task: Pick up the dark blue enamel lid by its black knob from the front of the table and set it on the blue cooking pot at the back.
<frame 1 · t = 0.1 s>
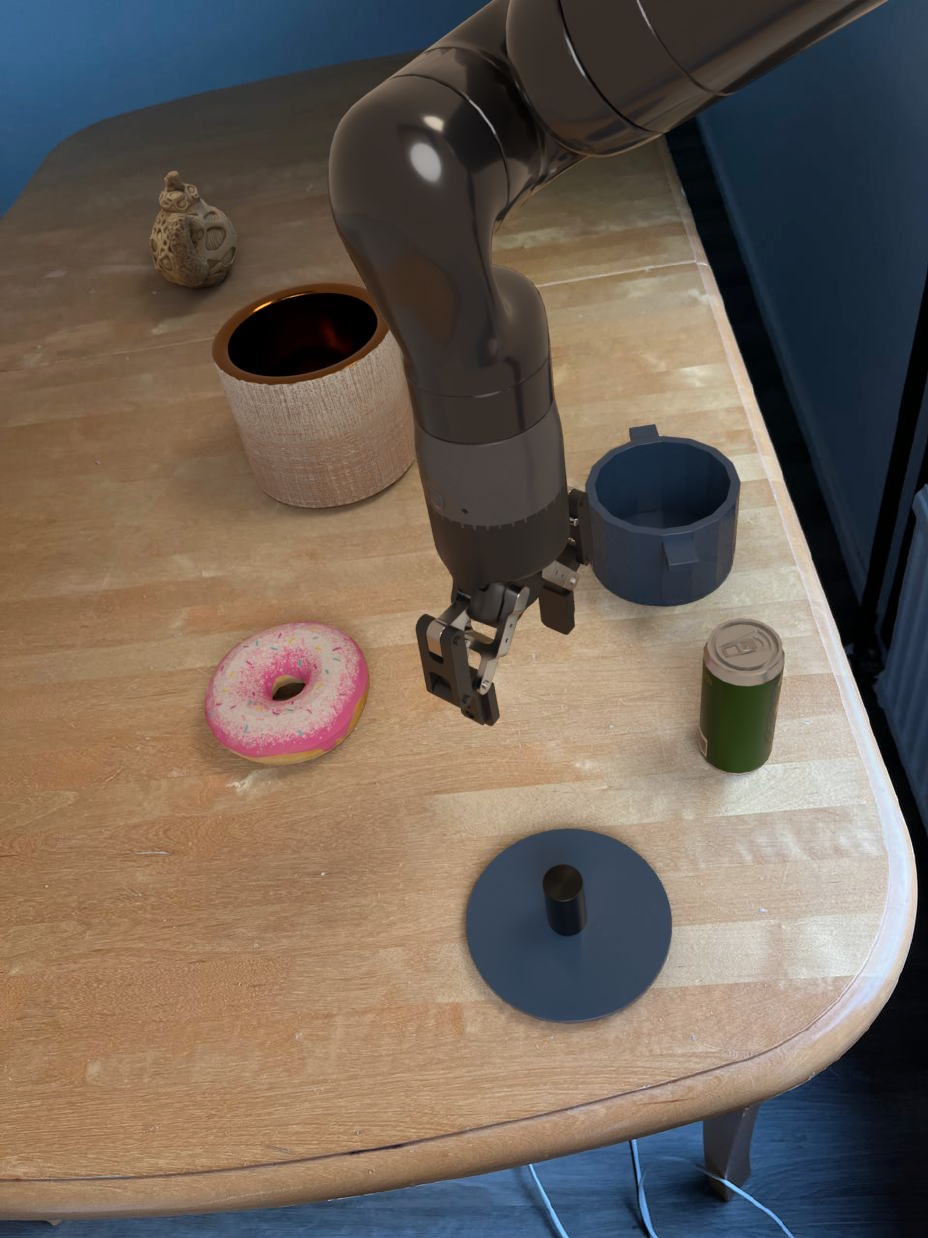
hand: (522, 670, 65), 16 cm above the table, tool pointing down, fingers open, 8 cm apart
lid: (567, 921, 69), point 1 cm above the table
blue cooking pot: (661, 555, 92), on the table
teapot: (206, 284, 138), on the table
beer can: (733, 750, 77), on the table
planter: (338, 461, 108), on the table
donut: (296, 711, 86), on the table
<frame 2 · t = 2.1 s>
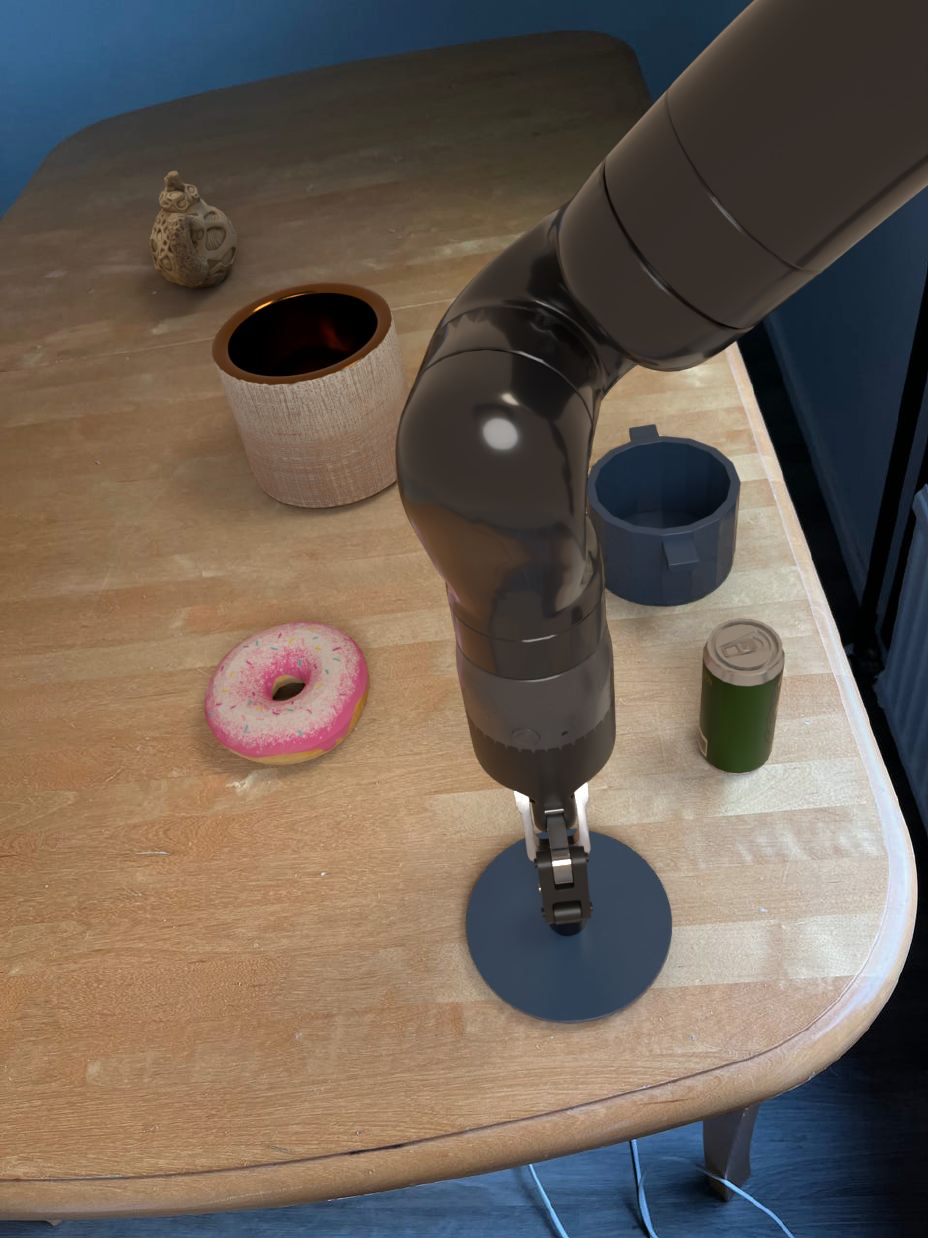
hand: (557, 849, 62), 10 cm above the table, tool pointing down, fingers open, 8 cm apart
nothing on the table moved.
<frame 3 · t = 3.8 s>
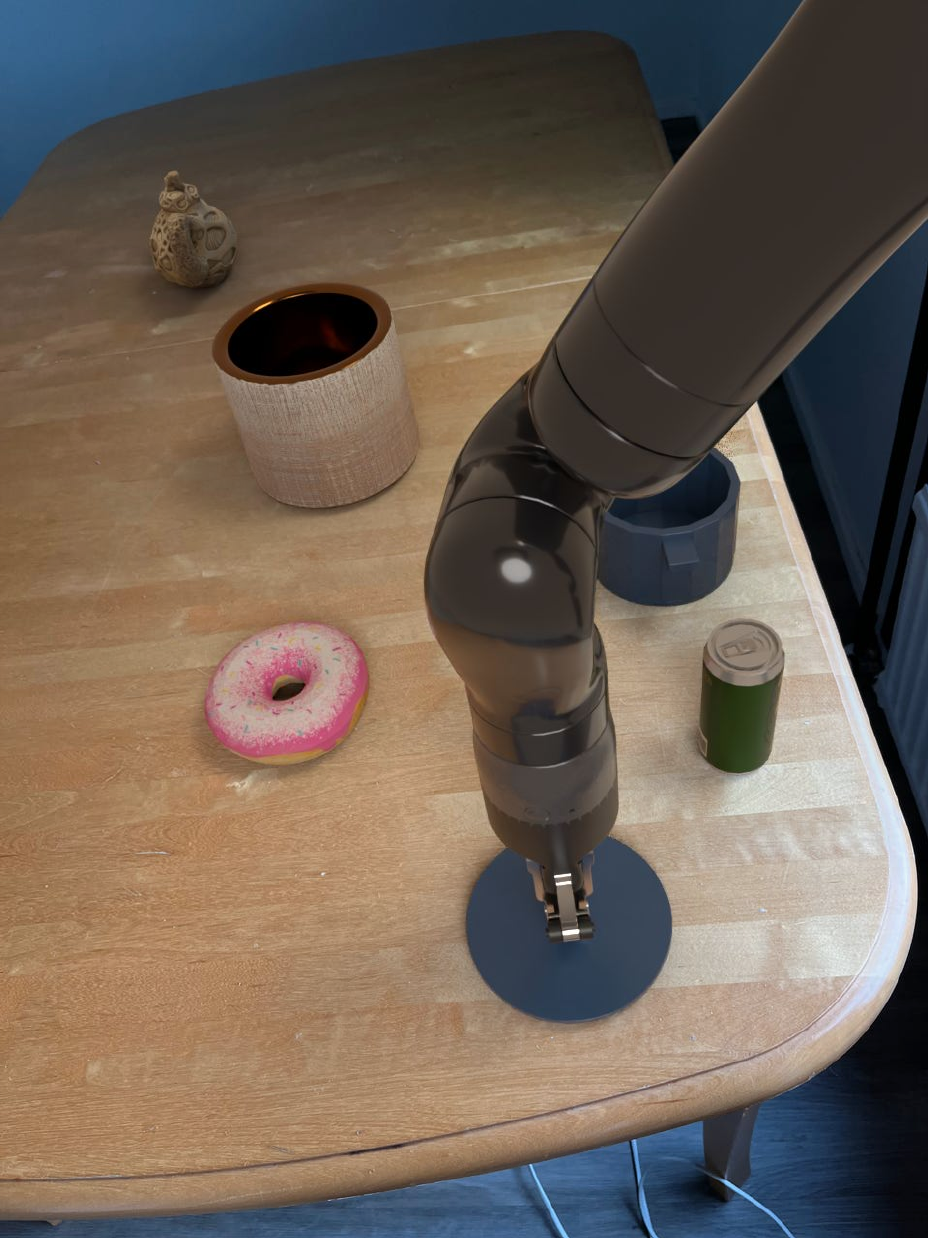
hand: (566, 909, 68), 2 cm above the table, tool pointing down, fingers closed on lid, 2 cm apart
lid: (567, 921, 69), point 1 cm above the table, touching gripper
everything else where it was.
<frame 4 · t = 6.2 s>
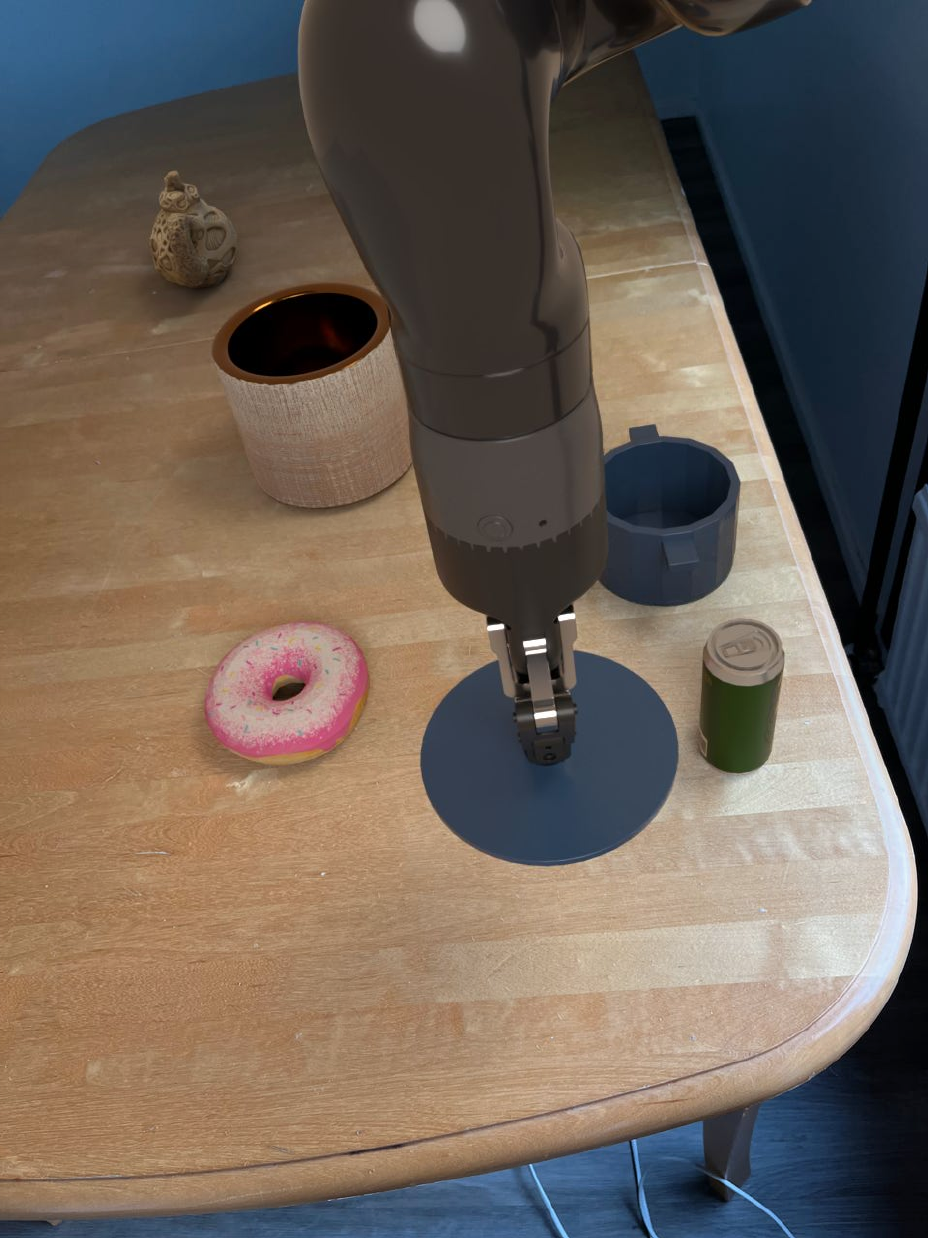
hand: (545, 730, 54), 22 cm above the table, tool pointing down, fingers closed on lid, 2 cm apart
lid: (547, 751, 55), point 20 cm above the table, touching gripper
everything else where it was.
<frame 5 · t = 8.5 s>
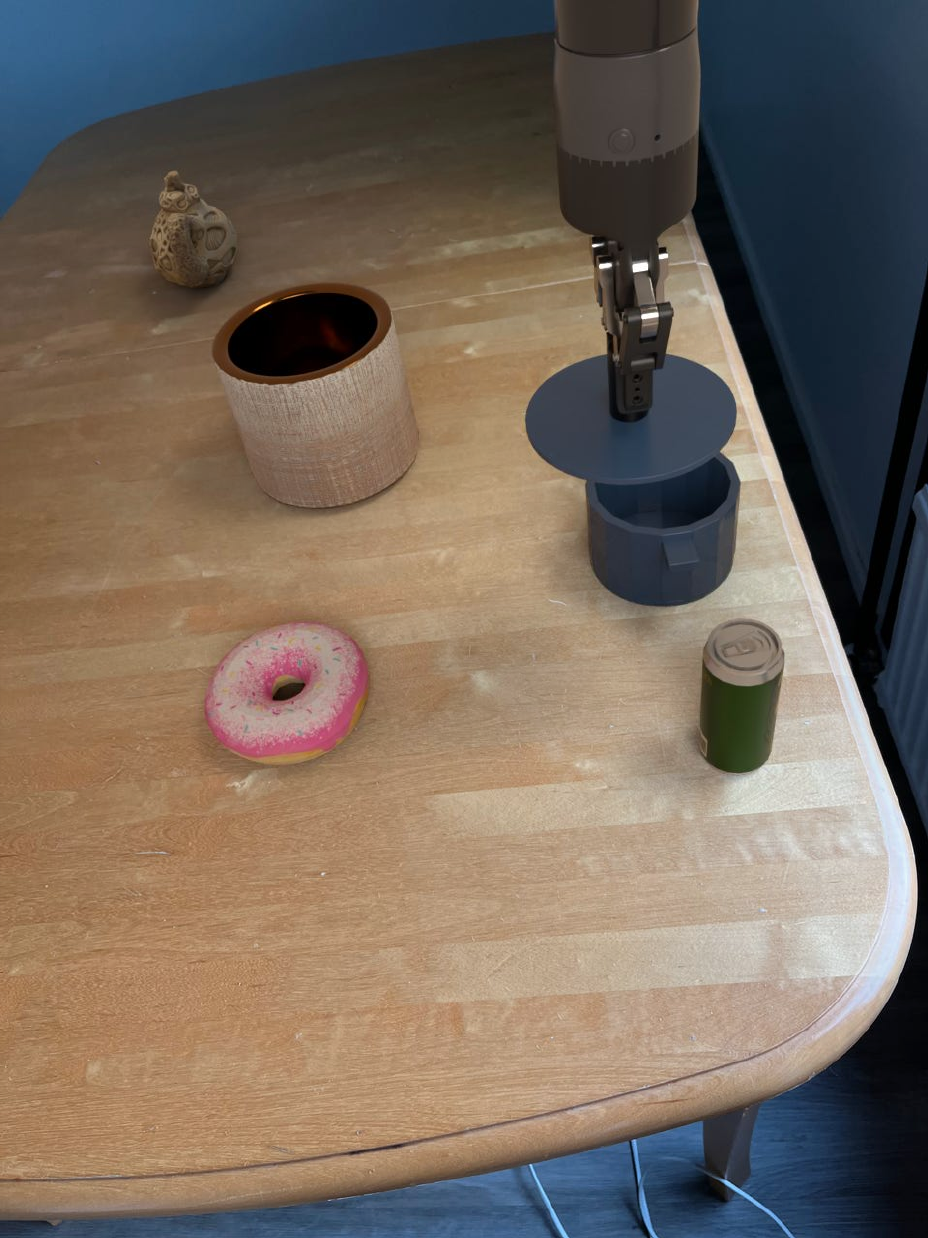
hand: (629, 393, 67), 25 cm above the table, tool pointing down, fingers closed on lid, 2 cm apart
lid: (629, 416, 68), point 24 cm above the table, touching gripper
everything else where it was.
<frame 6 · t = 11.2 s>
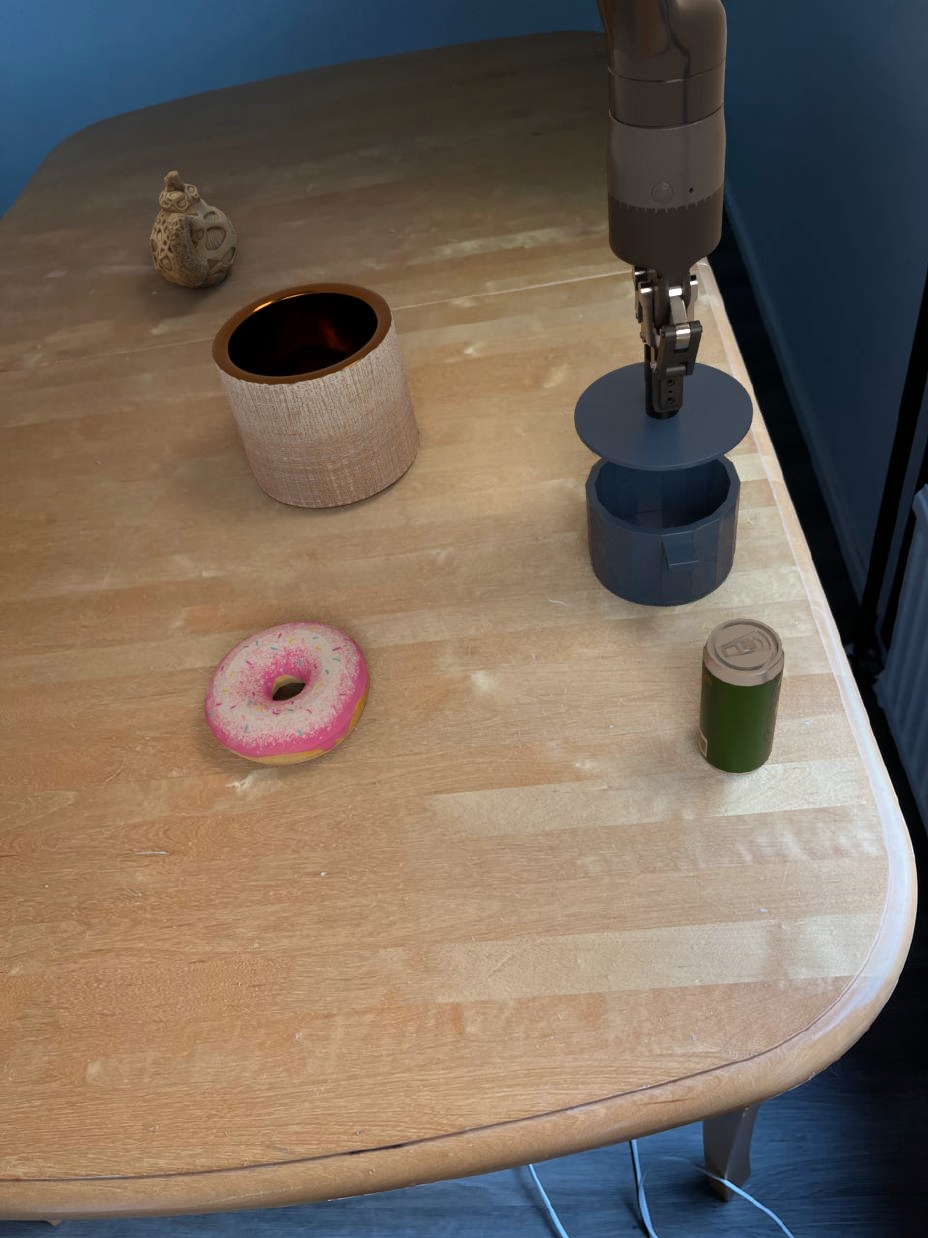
hand: (663, 395, 79), 17 cm above the table, tool pointing down, fingers closed on lid, 2 cm apart
lid: (662, 414, 81), point 16 cm above the table, touching gripper
everything else where it was.
when the fingers open (10 cm above the table, at t = 13.2 s): lid stays where it is, resting on blue cooking pot.
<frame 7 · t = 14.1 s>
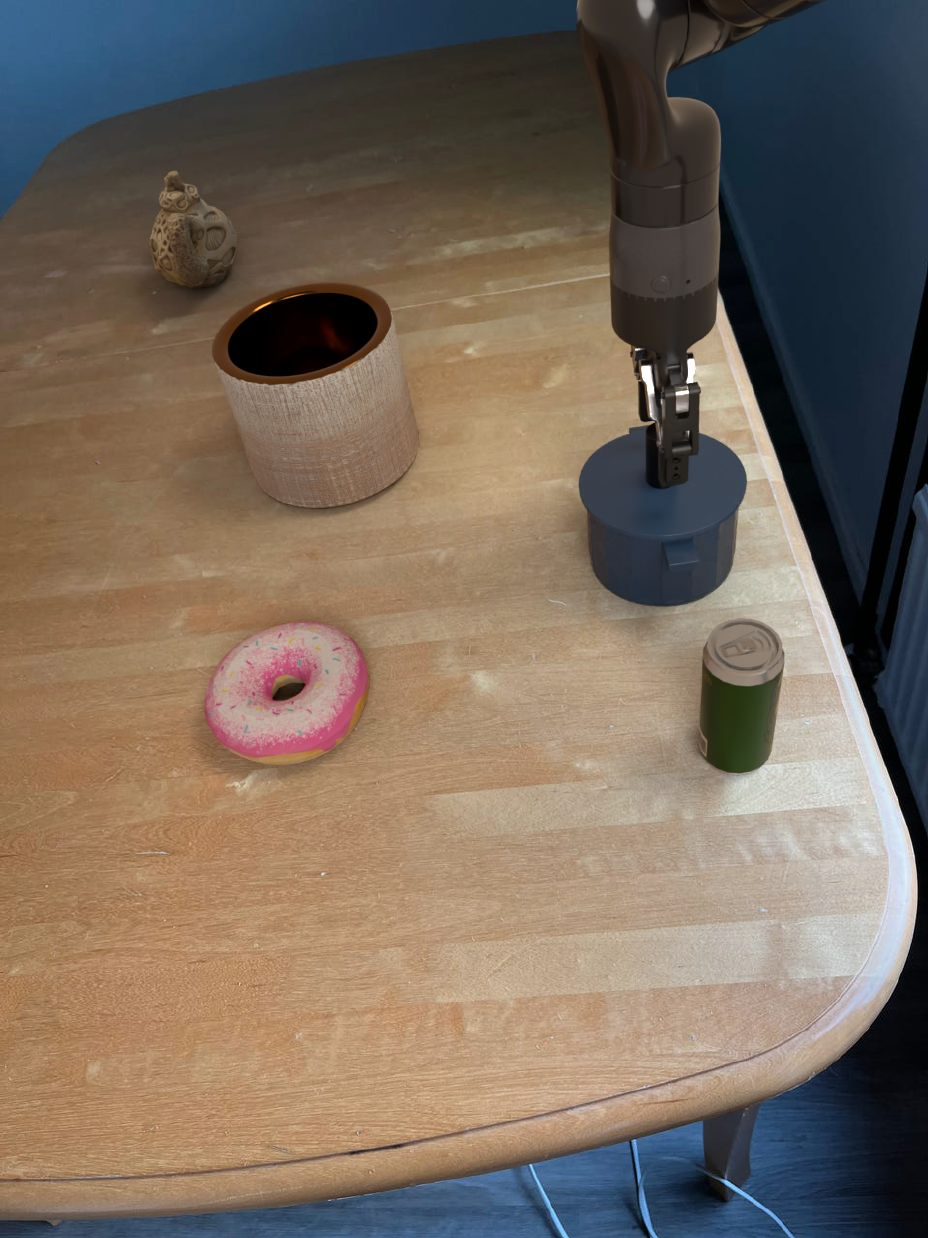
hand: (662, 449, 83), 12 cm above the table, tool pointing down, fingers open, 8 cm apart
lid: (661, 483, 86), point 8 cm above the table, touching blue cooking pot
everything else where it was.
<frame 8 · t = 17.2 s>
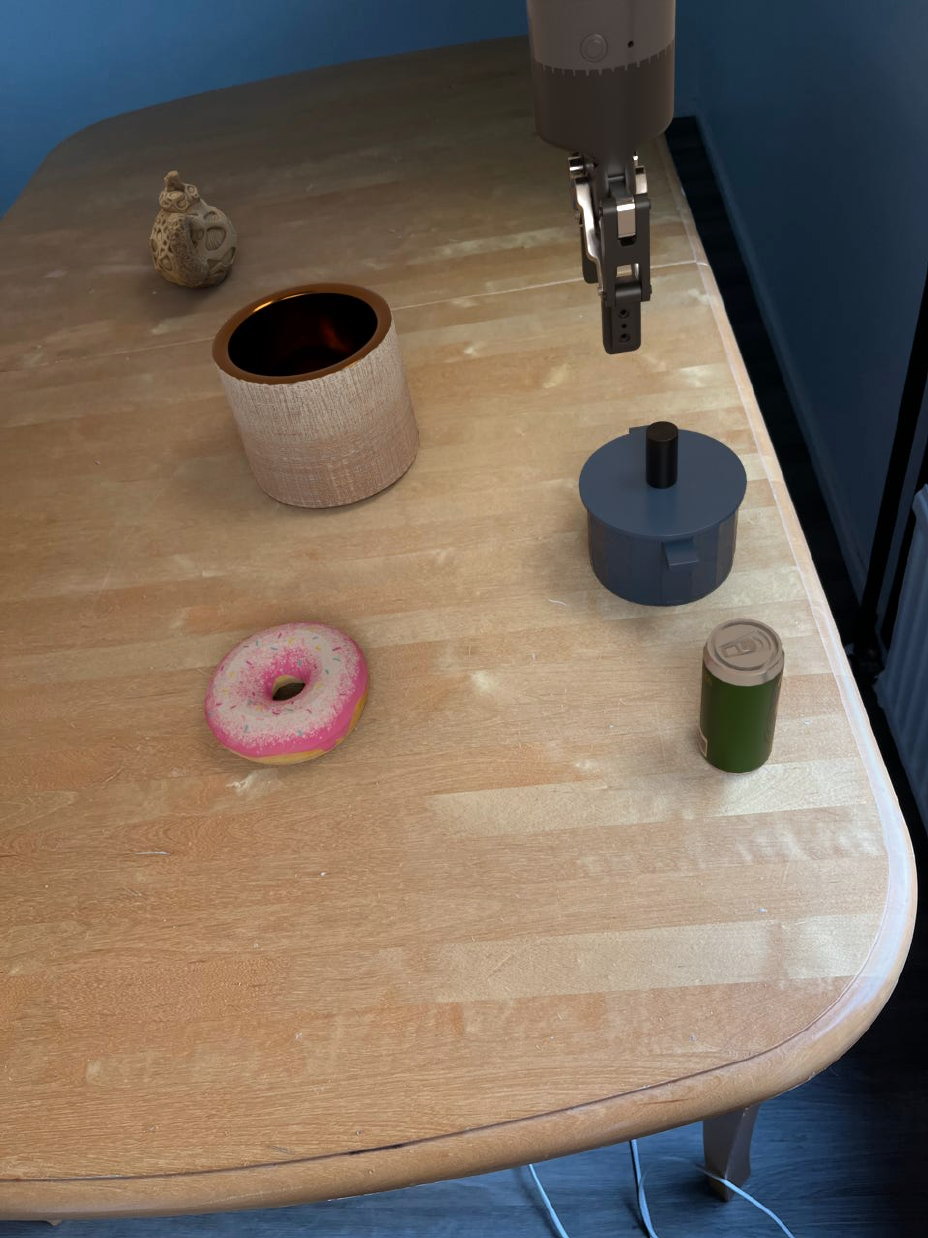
hand: (610, 312, 65), 30 cm above the table, tool pointing down, fingers open, 8 cm apart
nothing on the table moved.
at the end: lid 0.1 cm off-centre on the blue cooking pot, point 8.5 cm above the blue cooking pot's base; lid tilted 0° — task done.
